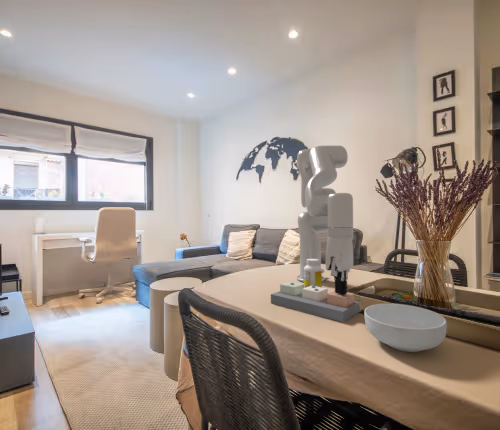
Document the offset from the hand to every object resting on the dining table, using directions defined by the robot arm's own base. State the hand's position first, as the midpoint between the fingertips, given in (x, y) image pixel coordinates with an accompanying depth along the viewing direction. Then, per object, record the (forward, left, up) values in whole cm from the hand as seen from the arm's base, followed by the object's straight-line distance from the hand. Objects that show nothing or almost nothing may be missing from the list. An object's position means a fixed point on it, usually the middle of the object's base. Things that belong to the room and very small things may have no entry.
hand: (341, 293), depth 86 cm
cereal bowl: (+10, +20, -6) cm, 23 cm away
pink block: (0, 0, -4) cm, 4 cm away
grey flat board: (0, -9, -6) cm, 11 cm away
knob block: (0, -18, -4) cm, 19 cm away
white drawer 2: (0, -9, -4) cm, 10 cm away
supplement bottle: (-14, -18, -6) cm, 24 cm away
